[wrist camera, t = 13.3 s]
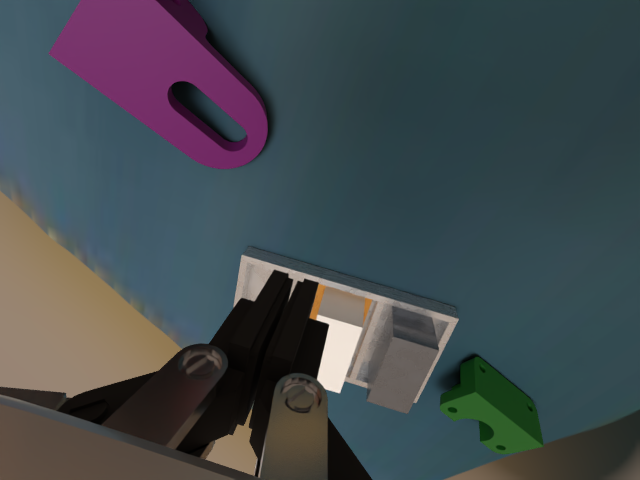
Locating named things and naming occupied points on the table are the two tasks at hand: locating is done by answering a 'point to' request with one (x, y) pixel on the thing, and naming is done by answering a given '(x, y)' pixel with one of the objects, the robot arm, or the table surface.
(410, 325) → the grey compartment tray
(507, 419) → the clamp
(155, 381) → the robot arm
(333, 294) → the cream upright block
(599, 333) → the table surface
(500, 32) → the table surface
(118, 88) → the mounting bracket
